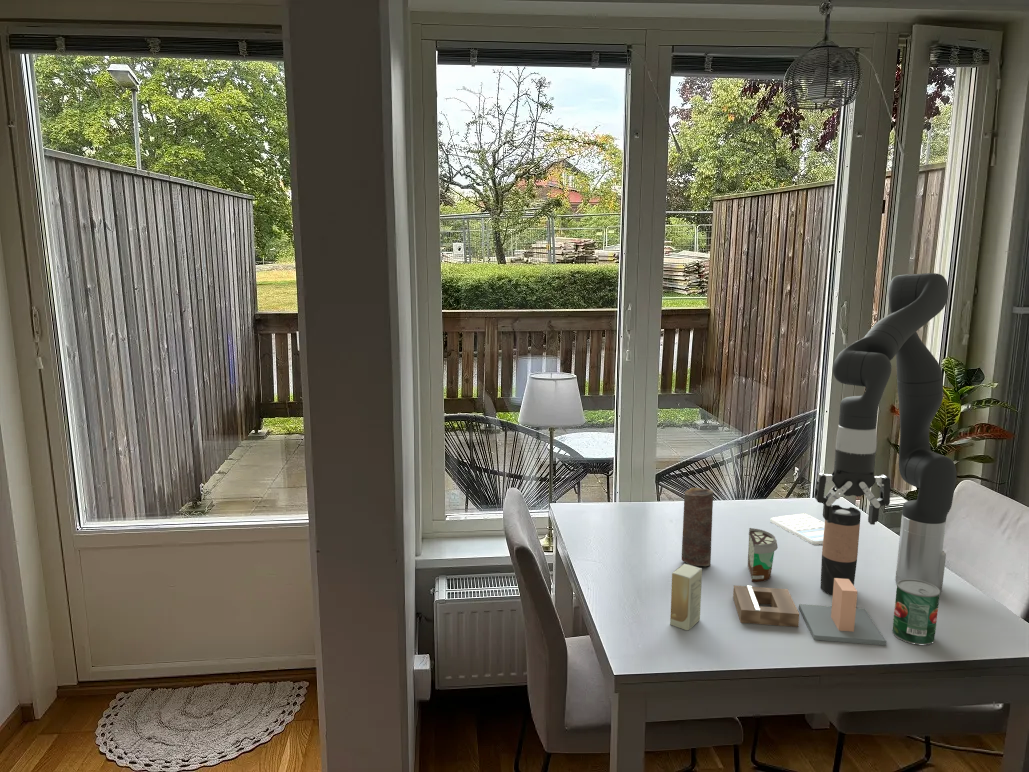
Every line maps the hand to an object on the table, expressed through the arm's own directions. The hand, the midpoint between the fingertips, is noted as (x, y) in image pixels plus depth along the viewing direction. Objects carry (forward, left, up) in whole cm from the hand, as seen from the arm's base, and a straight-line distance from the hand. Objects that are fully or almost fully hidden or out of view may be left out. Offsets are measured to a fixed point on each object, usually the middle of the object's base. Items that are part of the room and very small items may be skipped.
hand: (849, 522), depth 152 cm
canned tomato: (-14, +2, -24) cm, 28 cm away
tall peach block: (0, +1, -22) cm, 22 cm away
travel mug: (-4, -18, -24) cm, 30 cm away
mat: (0, 0, -23) cm, 23 cm away
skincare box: (+33, +4, -24) cm, 41 cm away
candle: (+28, -28, -24) cm, 46 cm away
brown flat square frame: (+15, -4, -23) cm, 28 cm away
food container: (+12, -24, -24) cm, 36 cm away
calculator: (-7, -58, -24) cm, 63 cm away
